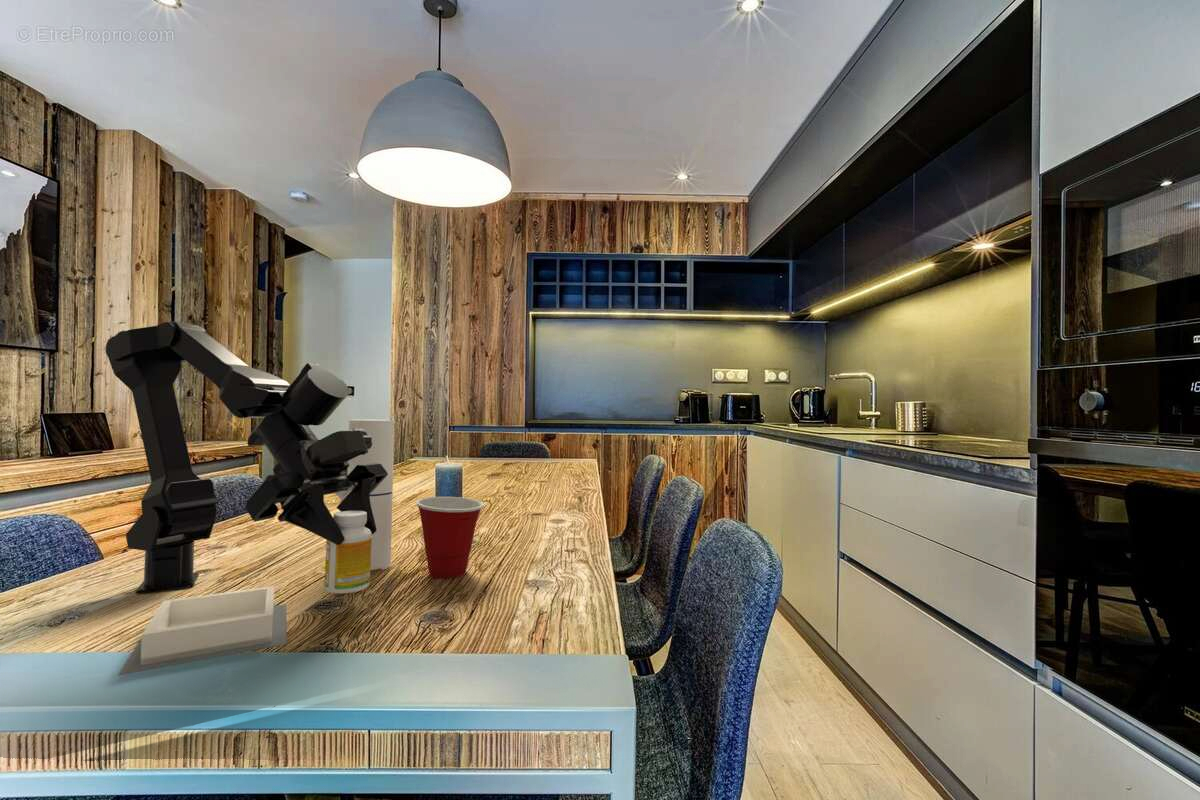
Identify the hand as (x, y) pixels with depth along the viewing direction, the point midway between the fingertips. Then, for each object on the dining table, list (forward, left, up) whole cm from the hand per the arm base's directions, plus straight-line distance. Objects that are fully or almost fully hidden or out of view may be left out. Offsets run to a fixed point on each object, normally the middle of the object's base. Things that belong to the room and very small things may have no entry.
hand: (358, 537), depth 68 cm
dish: (0, -15, -9) cm, 17 cm away
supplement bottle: (-1, -1, -7) cm, 7 cm away
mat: (0, -15, -10) cm, 18 cm away
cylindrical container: (-22, +4, -10) cm, 24 cm away
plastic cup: (-12, +15, -10) cm, 22 cm away
